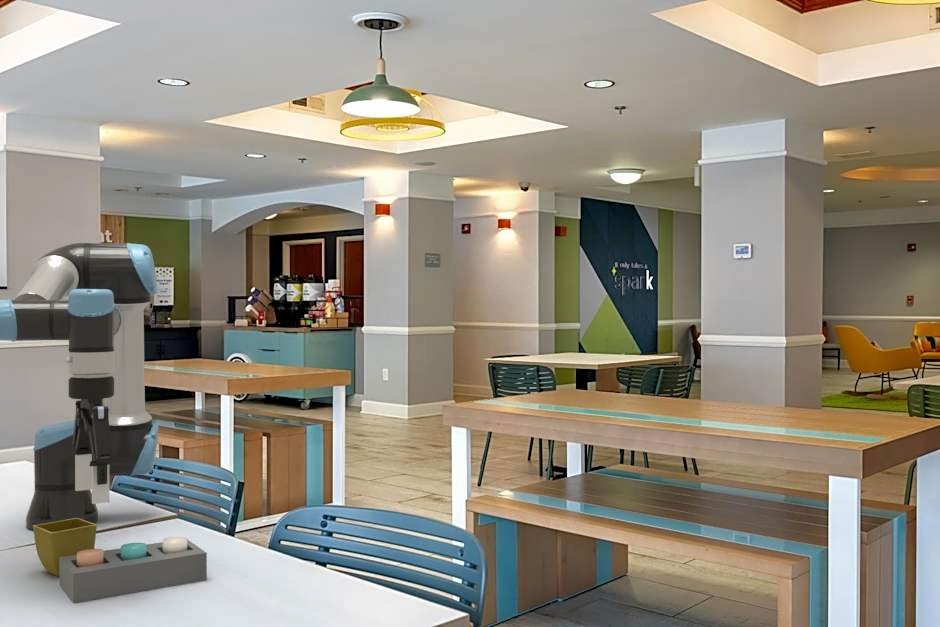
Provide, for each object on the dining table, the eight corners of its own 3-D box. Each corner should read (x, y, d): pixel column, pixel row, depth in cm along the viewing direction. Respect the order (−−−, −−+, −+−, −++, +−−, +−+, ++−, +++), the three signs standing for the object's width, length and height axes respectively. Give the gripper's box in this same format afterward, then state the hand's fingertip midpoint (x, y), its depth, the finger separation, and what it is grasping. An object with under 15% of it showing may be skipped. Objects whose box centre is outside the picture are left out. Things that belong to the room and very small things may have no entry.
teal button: (118, 562, 167) (118, 544, 167) (142, 558, 169) (142, 541, 169) (124, 568, 163) (124, 550, 163) (149, 564, 166) (149, 546, 166)
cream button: (159, 555, 171) (159, 538, 171) (183, 552, 174) (183, 535, 174) (166, 561, 167) (166, 544, 167) (190, 557, 170) (190, 540, 170)
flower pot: (32, 572, 173) (31, 524, 172) (77, 562, 179) (77, 516, 179) (51, 581, 167) (51, 532, 166) (98, 571, 173) (98, 524, 173)
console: (59, 584, 165) (59, 557, 165) (186, 564, 178) (186, 538, 178) (73, 603, 155) (73, 573, 155) (206, 579, 168) (206, 552, 168)
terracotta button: (74, 569, 163) (74, 551, 162) (100, 565, 165) (100, 547, 165) (79, 575, 159) (79, 557, 159) (106, 571, 161) (106, 553, 161)
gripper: (54, 372, 170) (55, 487, 170) (84, 381, 150) (85, 511, 150) (97, 370, 174) (97, 482, 174) (131, 379, 154) (132, 506, 154)
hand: (91, 496), depth 162 cm, fingers open, 12 cm apart
